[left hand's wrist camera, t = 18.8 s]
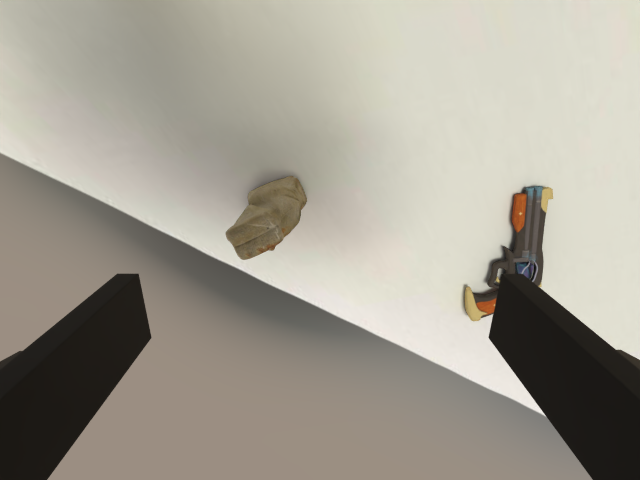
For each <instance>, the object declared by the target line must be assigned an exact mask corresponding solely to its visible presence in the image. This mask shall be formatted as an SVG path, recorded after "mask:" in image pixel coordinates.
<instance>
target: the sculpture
mask: <svg viewBox="0 0 640 480" xmlns="http://www.w3.org/2000/svg"><path fill="white" fill-rule="evenodd" d="M248 202H249V206H247V208H246V209H245V210H244V212H243V213H242V215H241V216H240V217H239V218H238V220H237V221H236V223H235V224H234V225H233V226H232V227H230V228H229V229H228V230H227V231H226V237H227V239H228V240H229V241H230V242H231V243H232V245H233V247H234V249H235V251H236V253H237V255H238V256H239V257H240V258H241V259H242V260H246V259H250V258H253V257H255V256H257V255H259V254H261V253H263V252H266V251H268V250H270V251H273V250H274V249H275V246H276V245H277V244H279V243H280V242H281V241H282V240H283V238H284V237H285V236H286V235H288V234H289V233H290V232H291V231H292V229H293V228H294V227H295V226H296V225H297V224H298V223H299V221H300V216H301V209H302V208H303V207H304V206H305V204H306V202H307V198H306V195H305V192H304V190H303V188H302V186H301V184H300V182H299V180H298V179H297V178H294V177H293V176H289V177H286V178H284V179H280V180H276V181H273V182H270V183H268V184H265V185H263V186H261V187H258V188H256V189H255V190H253V191H251V192H250V193H249V194H248Z"/></svg>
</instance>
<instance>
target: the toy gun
mask: <svg viewBox="0 0 640 480" xmlns="http://www.w3.org/2000/svg"><path fill="white" fill-rule="evenodd" d="M548 199H553V191H552V189H551V188H549V187H544V188H543V187H542V186H535V187H534V188H533V187H528V188H526V190H524V193H521V194H516V195H515V197H514V204H513V213H512V223H513V226H514V228H515V231H516V240H515V246H514V249H513V251H512V252H511V251H510V250H509V249H508V248H506V247H504V250H505V254H506V260H504V261H496V262H495V263H493V265H492V272H491V276H490V278H489V281H488V283H487V284H488V286H489V287H494V288H497V289H499V285H496V284H494V282H495V280H496V281H497V282H498V283H500V282H499V281H500V280H499V279H498V276H497V272H498V269H499V268H503V269H505V274H515V269H516V272H517V274H524V275H525V276H526V277H527V278H528V279H530V278H531V275H532V271H533V267H534V272H533V276H532V278H531V281H532V282H533V283H535V284H536V285H537V286H538V287H541V280H542V273H543V252H542V242H543V232H544V223H545V216H546V211H547V204H548ZM531 260H533V261H534V265H533V264H532V263H530V261H531ZM515 262H517V263H516V265H515ZM496 276H497V277H496ZM497 294H498V290H496V291H494V292H492V293H490V294H487V295H477V294H474V293H472V291H471V288H470V287H467V288H466V291H465V308H466V312H467V314H468V316H469V318H470V319H471V320H472V321H479V320H480V318H483V317H486V316H489V315H491V314H493V313H494V309H495V304H496V299H497Z"/></svg>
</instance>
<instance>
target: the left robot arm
mask: <svg viewBox="0 0 640 480" xmlns="http://www.w3.org/2000/svg"><path fill="white" fill-rule="evenodd" d="M150 339H151V334H150V329H149V324H148V319H147V314H146V309H145V304H144V299H143V294H142V289H141V284H140V279H139V274H117V275H115V276H114V277H113V278H112V279H110V280H109V281H108V282H107V283H105V284H104V285H103V286H102V287H101V288H99V289H98V290H97V291H96V292H94V293H93V294H92V295H91V296H90V297H88V298H87V299H86V300H85V301H83V302H82V303H81V304H80V305H79V306H77V307H76V308H75V309H74V310H72V311H71V312H70V313H69V314H67V315H66V316H65V317H64V318H63V319H61V320H60V321H59V322H58V323H56V324H55V325H54V326H53V327H52V328H50V329H49V330H48V331H47V332H45V333H44V334H43V335H42V336H41V337H39V338H38V339H37V340H36V341H35V342H33V343H32V344H31V345H30V346H28V347H27V348H26V349H25V350H24V351H19V352H17V353H15V354H13V355H12V356H10V357H8V358H6V359H4V360H2V361H0V480H47V479H48V478H49V476H50V475H51V474H52V472H53V471H54V470H55V468H56V467H57V465H58V464H59V463H60V461H61V460H62V459H63V457H64V456H65V455H66V453H67V452H68V451H69V449H70V448H71V446H72V445H73V444H74V442H75V441H76V440H77V438H78V437H79V435H80V434H81V433H82V431H83V430H84V429H85V427H86V426H87V425H88V423H89V422H90V420H91V419H92V418H93V416H94V415H95V414H96V412H97V411H98V410H99V408H100V407H101V406H102V404H103V403H104V402H105V400H106V399H107V397H108V396H109V395H110V393H111V392H112V391H113V389H114V388H115V387H116V385H117V384H118V382H119V381H120V380H121V378H122V377H123V376H124V374H125V373H126V372H127V370H128V369H129V367H130V366H131V365H132V363H133V362H134V361H135V359H136V358H137V357H138V355H139V354H140V352H141V351H142V350H143V348H144V347H145V346H146V344H147V343H148V342H149V340H150ZM489 339H490V340H491V342H492V343H493V344H494V346H495V347H496V348H497V350H498V351H499V353H500V354H501V355H502V357H503V358H504V359H505V361H506V362H507V363H508V365H509V366H510V367H511V369H512V370H513V372H514V373H515V374H516V376H517V377H518V378H519V380H520V381H521V382H522V384H523V385H524V387H525V388H526V389H527V391H528V392H529V393H530V395H531V396H532V397H533V399H534V400H535V402H536V403H537V404H538V406H539V407H540V408H541V410H542V411H543V412H544V414H545V415H546V416H547V418H548V419H549V420H550V422H551V423H552V425H553V426H554V427H555V429H556V430H557V431H558V433H559V434H560V436H561V437H562V438H563V440H564V441H565V442H566V444H567V445H568V446H569V448H570V449H571V450H572V452H573V453H574V455H575V456H576V457H577V459H578V460H579V461H580V463H581V464H582V465H583V467H584V468H585V469H586V471H587V472H588V474H589V475H590V476H591V478H592V479H593V480H640V360H639V359H637V358H635V357H633V356H631V355H629V354H628V353H626V352H624V351H622V350H615V349H614V348H613V347H612V346H610V345H609V344H608V343H607V342H606V341H604V340H603V339H602V338H601V337H599V336H598V335H597V334H596V333H595V332H593V331H592V330H591V329H590V328H588V327H587V326H586V325H585V324H584V323H582V322H581V321H580V320H579V319H577V318H576V317H575V316H574V315H573V314H571V313H570V312H569V311H568V310H566V309H565V308H564V307H563V306H561V305H560V304H559V303H558V302H557V301H555V300H554V299H553V298H552V297H550V296H549V295H548V294H547V293H546V292H544V291H543V290H542V289H541V288H539V287H538V286H537V285H536V284H535V283H533V282H532V281H531V280H530V279H528V278H527V277H526V276H525V275H524V274H501V279H500V284H499V289H498V294H497V299H496V304H495V309H494V314H493V319H492V324H491V328H490V333H489Z"/></svg>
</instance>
